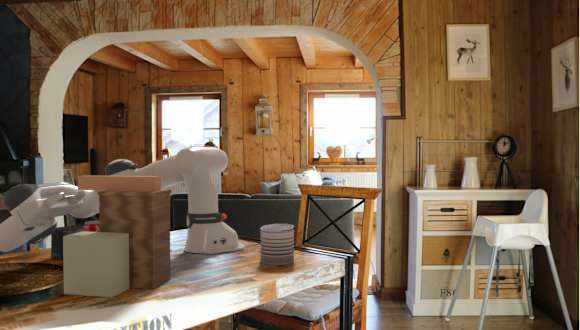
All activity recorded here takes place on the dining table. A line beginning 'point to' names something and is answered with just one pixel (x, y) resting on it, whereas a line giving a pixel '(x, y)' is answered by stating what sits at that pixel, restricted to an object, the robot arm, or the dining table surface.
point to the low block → (96, 263)
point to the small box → (58, 239)
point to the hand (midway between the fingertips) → (73, 193)
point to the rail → (120, 183)
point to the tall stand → (140, 232)
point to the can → (277, 244)
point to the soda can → (91, 226)
